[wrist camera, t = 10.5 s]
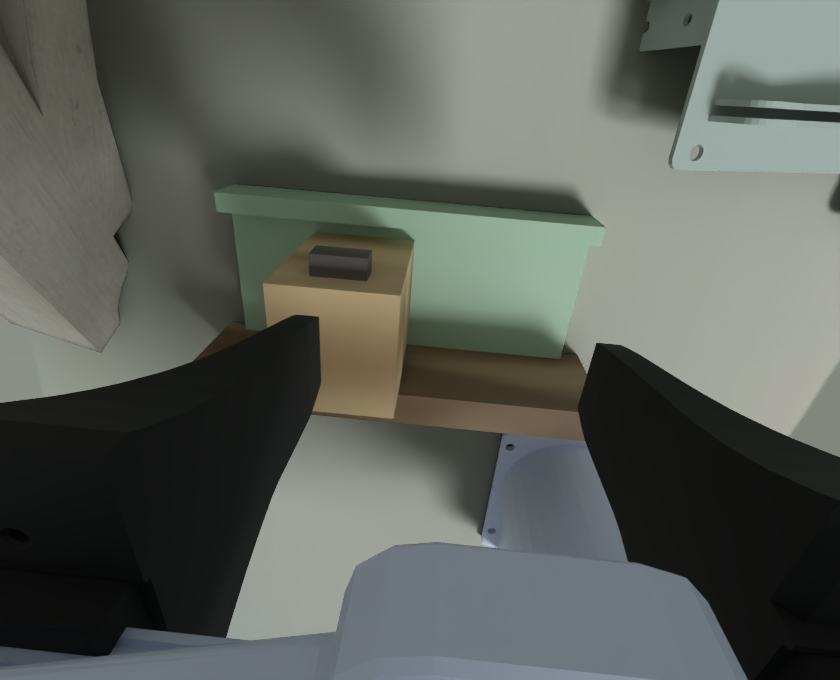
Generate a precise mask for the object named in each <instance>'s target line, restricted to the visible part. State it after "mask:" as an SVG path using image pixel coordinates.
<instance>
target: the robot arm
mask: <svg viewBox="0 0 840 680" xmlns="http://www.w3.org/2000/svg"><path fill="white" fill-rule="evenodd" d="M320 385H321V359H320V329H319V317H317V316H307V315H293V316H290V317H288V318H286V319H284V320H282V321H280V322H278V323H276V324H274V325H272V326H270V327H268V328H266V329H264V330H262V331H260V332H258V333H256V334H254V335H252V336H250V337H248V338H246V339H244V340H242V341H240V342H238V343H236V344H233V345H231V346H229V347H227V348H224V349H222V350H220V351H218V352H216V353H213V354H211V355H209V356H206V357H204V358H201V359H199V360H196V361H193V362H191V363H188V364H185V365H182V366H179V367H176V368H173V369H170V370H167V371H164V372H160V373H157V374H153V375H149V376H146V377H142V378H138V379H135V380H131V381H127V382H123V383H119V384H115V385H110V386H106V387H101V388H96V389H91V390H86V391H80V392H75V393H69V394H64V395H57V396H51V397H44V398H36V399H28V400H20V401H13V402H5V403H0V680H840V457H837V456H835V455H832V454H829V453H827V452H825V451H822V450H819V449H817V448H814V447H812V446H810V445H807V444H805V443H802V442H800V441H797V440H795V439H792V438H790V437H788V436H785V435H783V434H781V433H779V432H776V431H774V430H772V429H770V428H768V427H766V426H764V425H761V424H759V423H757V422H755V421H753V420H751V419H749V418H747V417H745V416H743V415H741V414H739V413H737V412H735V411H733V410H731V409H729V408H727V407H725V406H724V405H722V404H720V403H718V402H717V401H715V400H713V399H711V398H709V397H708V396H706V395H704V394H702V393H701V392H699V391H697V390H696V389H694V388H692V387H691V386H689V385H687V384H686V383H684V382H682V381H681V380H679V379H677V378H676V377H674V376H673V375H671V374H669V373H668V372H666V371H665V370H663V369H662V368H660V367H658V366H657V365H655V364H654V363H652V362H650V361H649V360H647V359H645V358H644V357H642V356H640V355H639V354H637V353H635V352H634V351H632V350H630V349H628V348H626V347H624V346H621V345H614V344H603V343H596V347H595V350H594V353H593V357H592V360H591V363H590V367H589V370H588V374H587V377H586V380H585V384H584V387H583V390H582V394H581V397H580V401H579V404H578V407H577V408H578V413H579V418H580V423H581V427H582V431H583V435H584V439H585V441H576V440H566V439H556V438H546V437H535V436H525V435H515V434H505V433H503V435H502V439H501V444H500V449H499V454H498V459H497V463H496V468H495V473H494V478H493V483H492V488H491V492H490V497H489V502H488V507H487V512H486V517H485V521H484V526H483V531H482V536H481V537H482V543H483V544H484V545H486V546H491V547H497V548H489V547H479V546H470V545H460V544H450V543H440V542H432V543H419V544H405V545H395V546H393V547H390V548H389V549H387V550H385V551H383V552H381V553H379V554H377V555H375V556H374V557H372V558H370V559H368V560H366V561H364V562H362V563H361V564H359V565H357V566H356V568H355V570H354V573H353V575H352V577H351V579H350V581H349V584H348V586H347V588H346V590H345V594H344V598H343V603H342V608H341V612H340V617H339V621H338V626H337V631H336V632H329V633H319V634H309V635H300V636H290V637H280V638H271V639H261V640H252V641H249V640H240V639H231V638H226V636H227V632H228V629H229V625H230V622H231V619H232V615H233V612H234V609H235V606H236V602H237V599H238V596H239V593H240V590H241V586H242V583H243V580H244V577H245V574H246V570H247V567H248V564H249V561H250V558H251V555H252V552H253V549H254V547H255V544H256V541H257V538H258V535H259V532H260V529H261V526H262V523H263V520H264V518H265V515H266V512H267V509H268V506H269V504H270V501H271V498H272V495H273V493H274V491H275V488H276V486H277V484H278V481H279V479H280V477H281V475H282V473H283V471H284V469H285V467H286V465H287V463H288V461H289V459H290V457H291V455H292V453H293V451H294V449H295V447H296V445H297V443H298V441H299V439H300V437H301V434H302V432H303V430H304V428H305V426H306V424H307V422H308V420H309V418H310V416H311V413H312V411H313V408H314V405H315V402H316V399H317V395H318V392H319V389H320ZM508 444H513V445H512V446H506V445H508ZM490 528H493V529H490Z"/></svg>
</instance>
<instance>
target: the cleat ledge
mask: <svg viewBox="0 0 840 680" xmlns="http://www.w3.org/2000/svg"><path fill="white" fill-rule="evenodd" d="M214 198H215V206H216V212H222V213H232V219H233V228H234V236H235V244H236V253H237V261H238V269H239V277H240V286H241V294H242V302H243V311H244V319H245V327H246V329H250V330H260V331H262V330H264V329H266V328H267V321H266V311H265V301H264V291H263V283H264V282H265V281H266V280H267V279H268V278H269V277H270V276H271V275H272V274H273V273H274V272H275V271H276V270H277V269H278V268H279V267H280V266H281V265H282V264H283V263H284V262H285V261H286V260H287V259H288V258H289V257H290V256H291V255H292V254H293V253H294V252H295V251H296V250H297V249H298V248H299V247H300V246H301V245H302V244H303V243H304V242H305V241H306V240H307V239H308V238H309V237H310V236H311V235H313V234H314V233H315V232H326V233H337V234H349V235H360V236H371V237H383V238H394V239H405V240H415V243H414V257H413V272H412V287H411V302H410V316H409V331H408V341H407V345H418V346H428V347H439V348H449V349H460V350H470V351H481V352H491V353H502V354H512V355H523V356H533V357H544V358H554V359H560V358H561V354H562V350H563V347H564V343H565V339H566V335H567V331H568V327H569V323H570V319H571V316H572V312H573V308H574V304H575V300H576V296H577V292H578V289H579V285H580V281H581V277H582V273H583V269H584V265H585V261H586V258H587V254H588V250H589V246H597V247H601V245H602V241H603V238H604V234H605V230H606V227H605V226H604V225H603V224H601V223H600V222H599V221H598V220H597V219H595V218H594V217H593V216H585V215H574V214H563V213H552V212H541V211H530V210H518V209H507V208H496V207H485V206H474V205H463V204H451V203H440V202H429V201H418V200H407V199H395V198H384V197H373V196H362V195H351V194H340V193H328V192H317V191H306V190H295V189H284V188H273V187H261V186H250V185H239V184H233V185H231V186H228V187H226V188H223V189H221V190H218V191H215V192H214Z"/></svg>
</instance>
